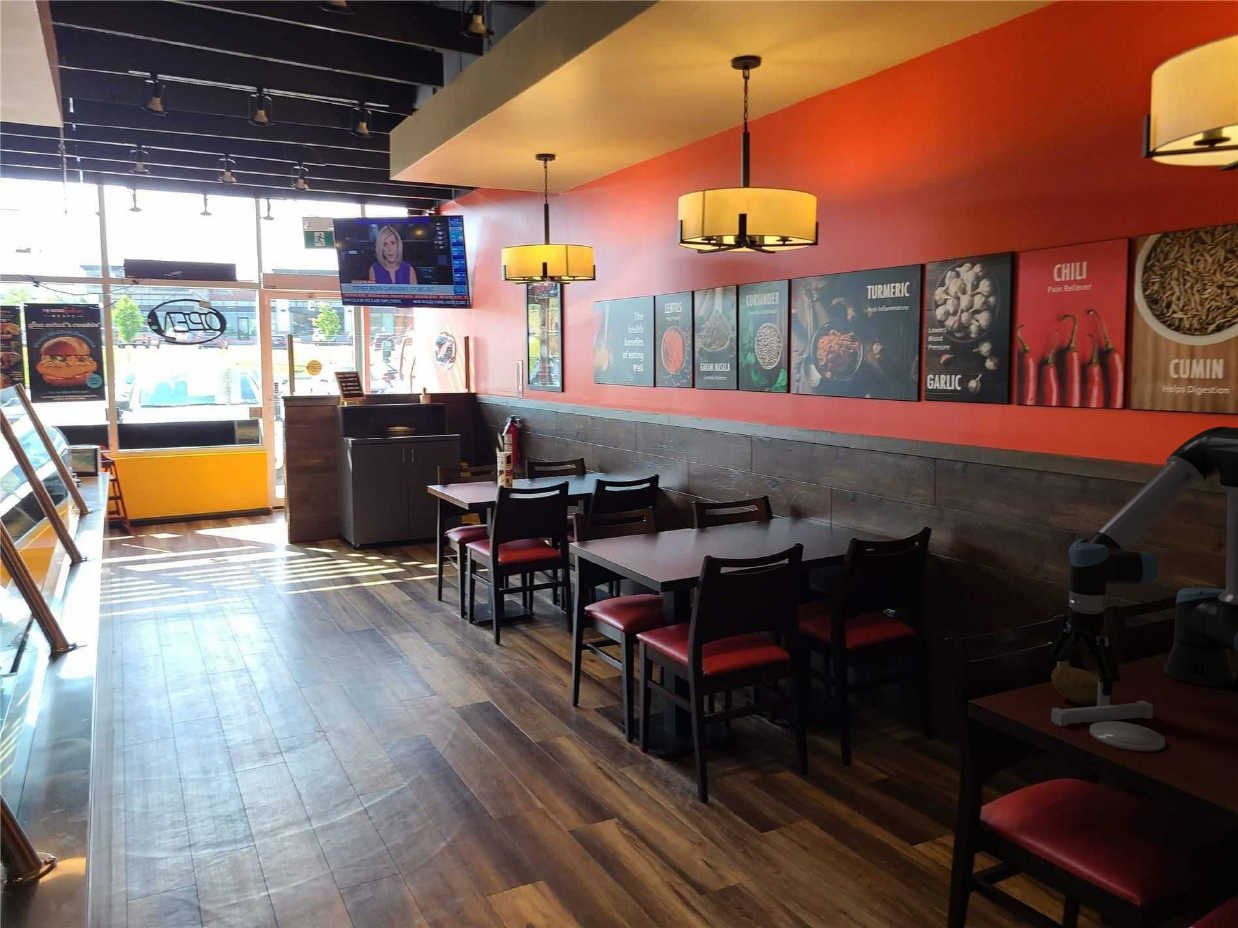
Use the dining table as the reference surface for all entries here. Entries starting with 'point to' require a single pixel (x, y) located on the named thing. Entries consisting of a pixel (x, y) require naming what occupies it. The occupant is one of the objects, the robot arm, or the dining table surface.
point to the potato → (1077, 684)
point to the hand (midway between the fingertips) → (1081, 697)
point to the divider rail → (1102, 713)
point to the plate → (1127, 736)
